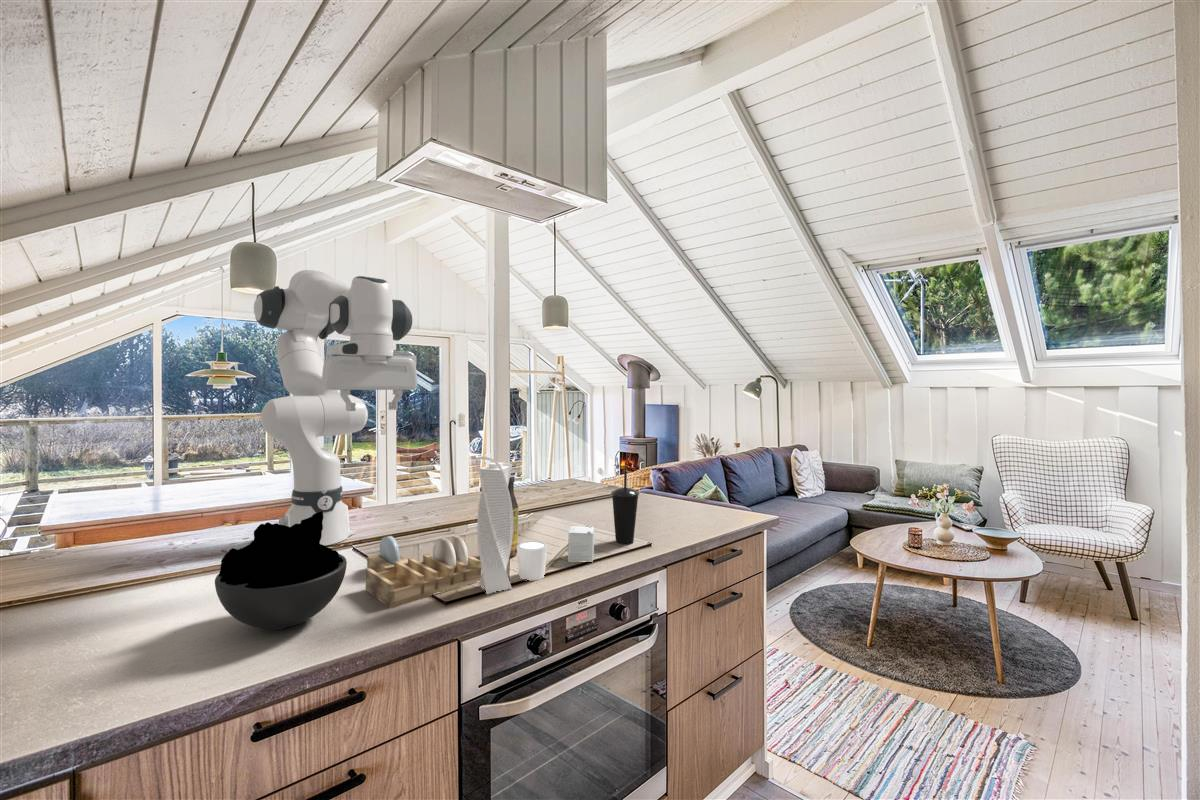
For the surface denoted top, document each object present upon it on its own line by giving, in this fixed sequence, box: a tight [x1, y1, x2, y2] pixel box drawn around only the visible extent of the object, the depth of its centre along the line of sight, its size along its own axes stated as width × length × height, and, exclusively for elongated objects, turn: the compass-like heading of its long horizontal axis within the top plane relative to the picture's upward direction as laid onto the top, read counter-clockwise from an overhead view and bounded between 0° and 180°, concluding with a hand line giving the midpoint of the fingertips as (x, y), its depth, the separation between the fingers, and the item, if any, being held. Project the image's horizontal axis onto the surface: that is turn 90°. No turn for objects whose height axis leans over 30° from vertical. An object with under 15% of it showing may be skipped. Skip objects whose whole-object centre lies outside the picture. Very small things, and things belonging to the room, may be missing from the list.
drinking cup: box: [610, 468, 640, 545], centre depth 145 cm, size 8×8×20 cm
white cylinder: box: [516, 540, 548, 582], centre depth 119 cm, size 7×7×7 cm
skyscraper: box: [475, 456, 513, 595], centre depth 112 cm, size 8×8×28 cm
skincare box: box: [567, 525, 595, 563], centre depth 131 cm, size 6×6×7 cm
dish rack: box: [365, 535, 482, 609], centre depth 113 cm, size 12×20×9 cm, turn 135°
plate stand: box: [366, 553, 408, 573], centre depth 120 cm, size 11×6×3 cm, turn 45°
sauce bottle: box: [508, 474, 519, 558], centre depth 133 cm, size 7×6×20 cm
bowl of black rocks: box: [214, 511, 348, 630], centre depth 94 cm, size 20×20×19 cm
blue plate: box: [379, 535, 401, 565], centre depth 120 cm, size 8×1×8 cm, turn 45°
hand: (372, 410), depth 120 cm, fingers open, 8 cm apart
